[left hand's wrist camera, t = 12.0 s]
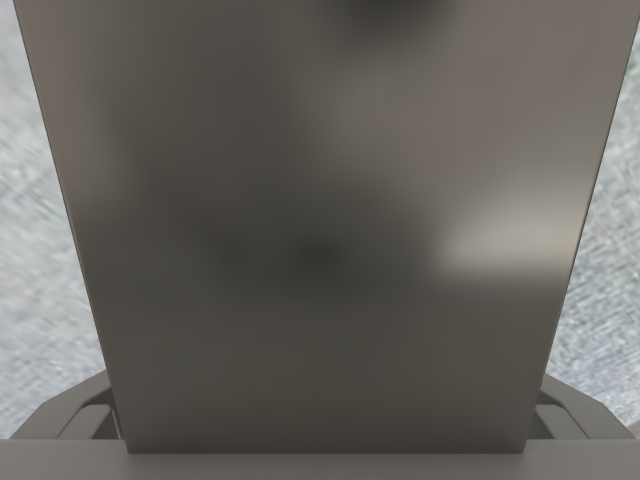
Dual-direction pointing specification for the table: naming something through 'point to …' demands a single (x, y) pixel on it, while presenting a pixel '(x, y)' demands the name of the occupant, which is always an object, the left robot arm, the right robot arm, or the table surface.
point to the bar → (327, 209)
